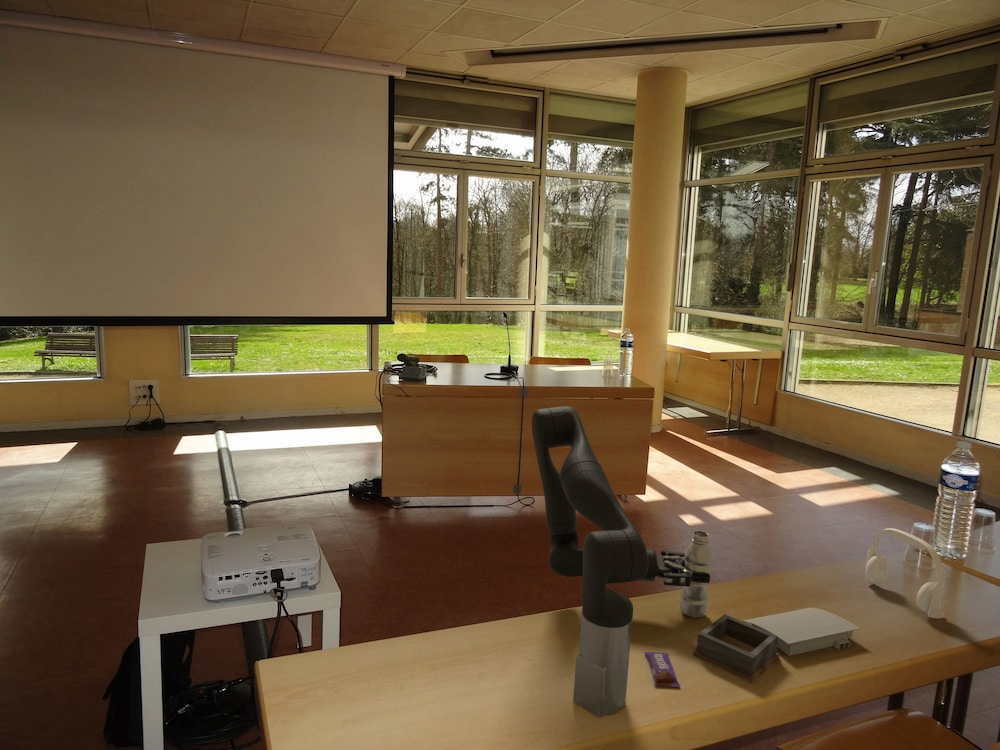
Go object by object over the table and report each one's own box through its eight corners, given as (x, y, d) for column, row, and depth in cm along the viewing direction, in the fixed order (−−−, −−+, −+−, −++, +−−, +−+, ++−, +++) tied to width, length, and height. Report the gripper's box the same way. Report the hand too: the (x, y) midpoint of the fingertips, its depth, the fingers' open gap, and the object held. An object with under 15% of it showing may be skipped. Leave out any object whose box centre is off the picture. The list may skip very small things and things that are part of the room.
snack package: (644, 647, 147) (668, 648, 147) (643, 655, 147) (667, 657, 147) (655, 681, 136) (681, 682, 136) (654, 690, 136) (680, 691, 136)
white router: (868, 647, 154) (871, 631, 154) (787, 666, 146) (789, 649, 145) (814, 613, 168) (816, 598, 168) (737, 628, 160) (739, 612, 159)
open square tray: (751, 683, 139) (754, 660, 138) (692, 655, 147) (694, 633, 147) (778, 657, 148) (781, 636, 147) (721, 632, 157) (723, 612, 156)
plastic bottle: (703, 608, 167) (712, 529, 164) (709, 623, 161) (718, 541, 157) (676, 605, 168) (684, 527, 164) (680, 620, 161) (689, 538, 158)
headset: (856, 584, 183) (866, 520, 180) (877, 581, 186) (886, 517, 183) (925, 623, 165) (937, 552, 162) (946, 619, 167) (959, 549, 164)
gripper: (636, 561, 157) (713, 570, 154) (634, 536, 171) (705, 543, 168) (634, 593, 158) (710, 601, 156) (632, 565, 172) (702, 572, 170)
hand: (707, 571), depth 162 cm, fingers closed on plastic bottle, 6 cm apart
